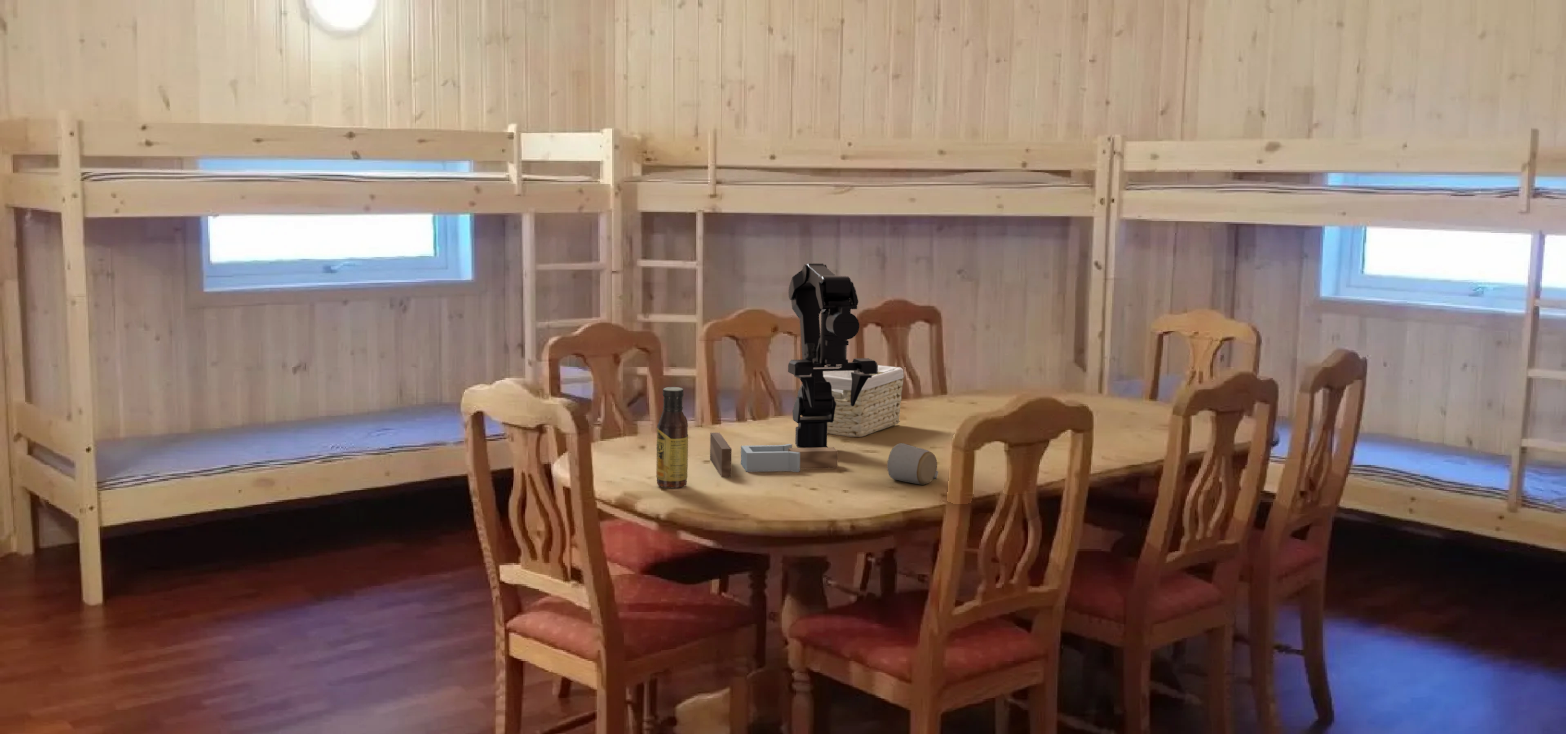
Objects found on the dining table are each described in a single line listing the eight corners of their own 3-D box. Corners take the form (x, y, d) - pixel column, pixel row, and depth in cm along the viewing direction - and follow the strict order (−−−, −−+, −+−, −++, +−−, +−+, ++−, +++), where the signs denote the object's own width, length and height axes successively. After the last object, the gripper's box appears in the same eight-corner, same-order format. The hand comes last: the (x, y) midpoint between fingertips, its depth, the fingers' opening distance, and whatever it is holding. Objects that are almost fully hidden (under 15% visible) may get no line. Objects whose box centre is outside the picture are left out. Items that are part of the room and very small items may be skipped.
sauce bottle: (656, 482, 292) (657, 385, 289) (687, 482, 293) (688, 385, 290) (656, 489, 286) (656, 390, 283) (687, 489, 286) (688, 390, 283)
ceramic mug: (918, 488, 292) (920, 450, 291) (885, 481, 297) (887, 445, 296) (947, 481, 300) (949, 444, 299) (914, 475, 305) (916, 439, 304)
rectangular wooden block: (833, 465, 313) (833, 447, 313) (837, 469, 310) (837, 450, 309) (787, 466, 311) (788, 448, 311) (791, 470, 308) (792, 451, 307)
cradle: (791, 461, 315) (791, 443, 314) (800, 472, 305) (800, 453, 304) (739, 462, 313) (740, 444, 312) (747, 473, 303) (747, 454, 302)
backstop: (719, 459, 316) (719, 432, 315) (731, 477, 298) (731, 448, 297) (710, 459, 315) (710, 432, 315) (721, 477, 298) (721, 448, 297)
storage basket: (860, 440, 342) (861, 378, 340) (801, 432, 350) (802, 372, 348) (905, 425, 362) (907, 367, 360) (848, 418, 371) (849, 361, 369)
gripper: (862, 330, 320) (860, 399, 322) (781, 331, 315) (780, 402, 317) (879, 335, 310) (877, 407, 312) (796, 336, 305) (795, 410, 307)
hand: (832, 406), depth 312 cm, fingers open, 9 cm apart
